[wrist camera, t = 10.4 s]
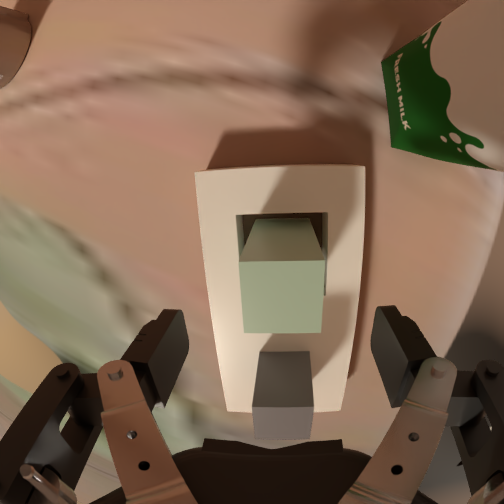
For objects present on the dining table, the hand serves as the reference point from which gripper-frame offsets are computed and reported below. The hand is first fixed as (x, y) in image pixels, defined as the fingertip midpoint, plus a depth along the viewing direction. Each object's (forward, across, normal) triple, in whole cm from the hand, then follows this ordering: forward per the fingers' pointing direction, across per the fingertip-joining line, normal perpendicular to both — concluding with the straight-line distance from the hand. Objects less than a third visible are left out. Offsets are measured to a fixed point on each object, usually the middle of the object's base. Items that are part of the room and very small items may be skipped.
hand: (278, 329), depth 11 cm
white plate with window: (+12, 0, +5) cm, 13 cm away
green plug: (+12, 0, 0) cm, 12 cm away
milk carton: (+12, -12, -11) cm, 20 cm away
